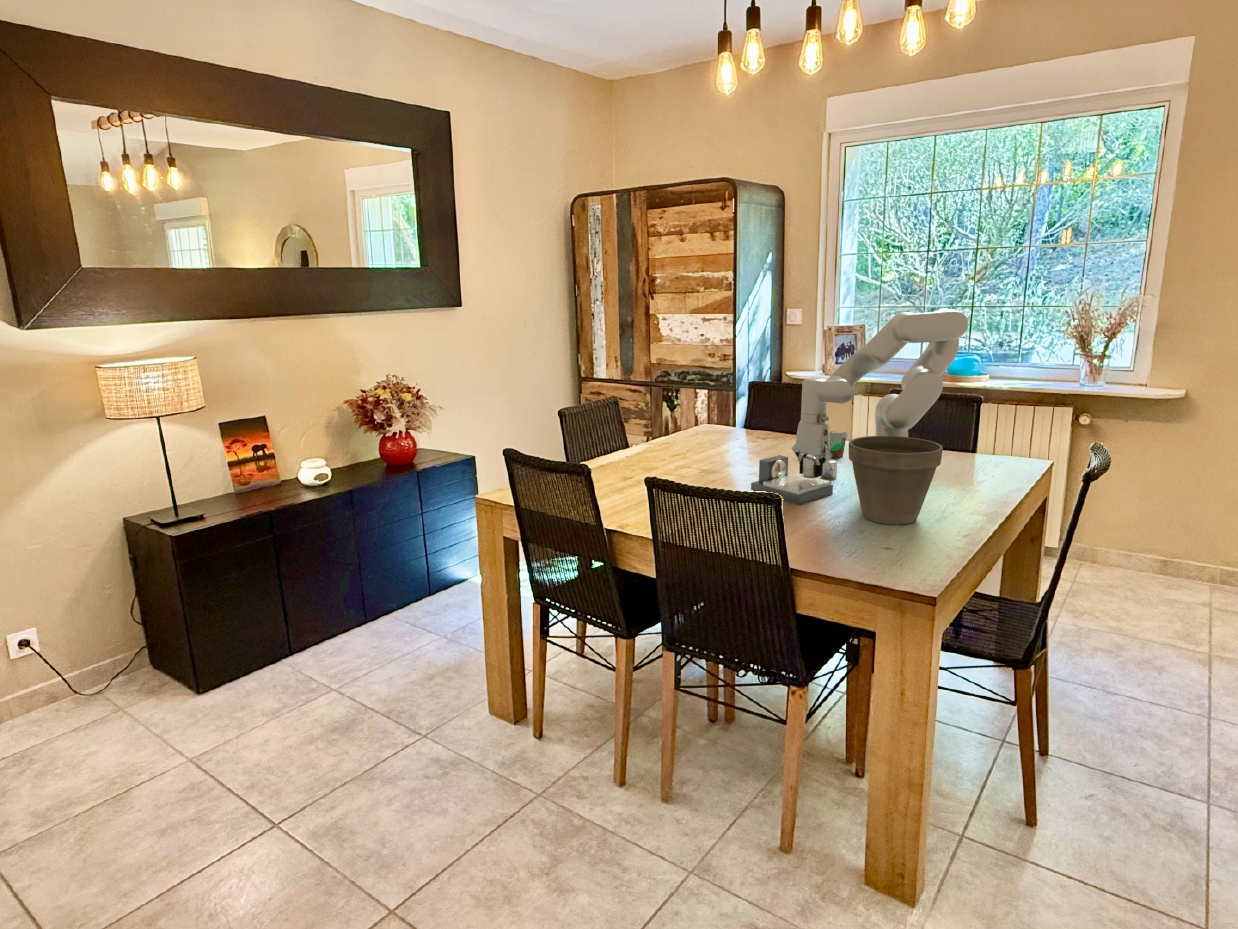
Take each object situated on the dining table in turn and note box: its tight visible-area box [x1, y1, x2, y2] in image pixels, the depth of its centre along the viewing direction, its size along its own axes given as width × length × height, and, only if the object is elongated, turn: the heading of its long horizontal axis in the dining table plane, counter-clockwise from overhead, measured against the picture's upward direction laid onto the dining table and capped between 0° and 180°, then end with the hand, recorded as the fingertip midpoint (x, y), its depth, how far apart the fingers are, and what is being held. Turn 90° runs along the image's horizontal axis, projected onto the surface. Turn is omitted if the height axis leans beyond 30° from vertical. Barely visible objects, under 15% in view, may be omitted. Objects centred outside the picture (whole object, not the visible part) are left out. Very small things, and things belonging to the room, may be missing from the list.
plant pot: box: [848, 435, 944, 526], centre depth 212 cm, size 25×25×22 cm
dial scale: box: [750, 454, 834, 506], centre depth 238 cm, size 19×17×10 cm
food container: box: [823, 431, 849, 460], centre depth 284 cm, size 12×6×10 cm, turn 62°
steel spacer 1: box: [801, 455, 819, 478], centre depth 237 cm, size 5×5×6 cm
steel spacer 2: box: [820, 459, 838, 481], centre depth 256 cm, size 5×5×6 cm
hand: (810, 474), depth 237 cm, fingers closed on steel spacer 1, 4 cm apart
